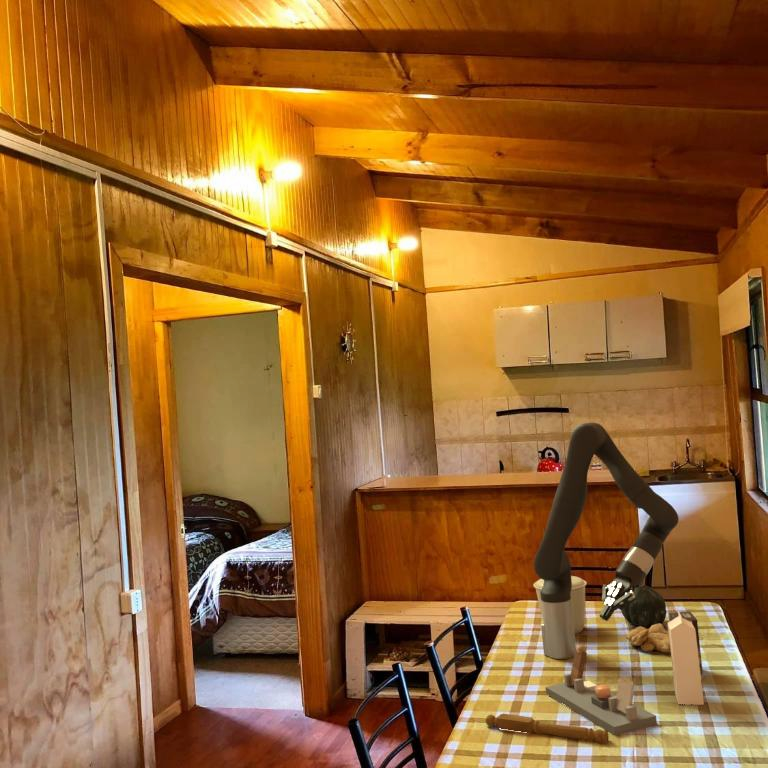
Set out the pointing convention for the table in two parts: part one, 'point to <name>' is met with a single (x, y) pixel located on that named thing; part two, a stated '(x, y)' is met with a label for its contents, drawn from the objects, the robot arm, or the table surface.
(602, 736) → the turned wooden table leg
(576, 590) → the canister
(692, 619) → the coffee box
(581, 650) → the walnut lever
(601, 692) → the terracotta button
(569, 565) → the robot arm
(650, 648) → the ginger root
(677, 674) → the milk
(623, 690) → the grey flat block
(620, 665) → the table surface
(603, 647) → the table surface
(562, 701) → the control panel
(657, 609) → the squash
